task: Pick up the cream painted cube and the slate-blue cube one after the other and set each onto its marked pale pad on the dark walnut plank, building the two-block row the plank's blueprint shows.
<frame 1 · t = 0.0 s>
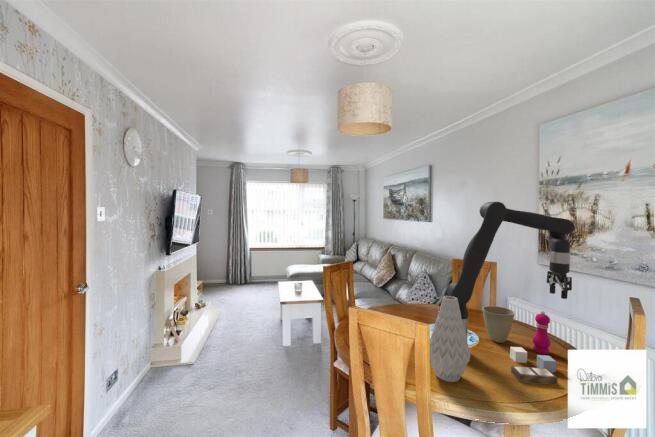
hand: (558, 295, 144), 29 cm above the table, fingers open, 8 cm apart
plant pot: (497, 340, 164), on the table
cube cream: (518, 360, 142), on the table
cube blue: (545, 369, 134), on the table
pepper mill: (541, 351, 151), on the table
vase: (447, 376, 127), on the table
plank: (533, 378, 126), on the table
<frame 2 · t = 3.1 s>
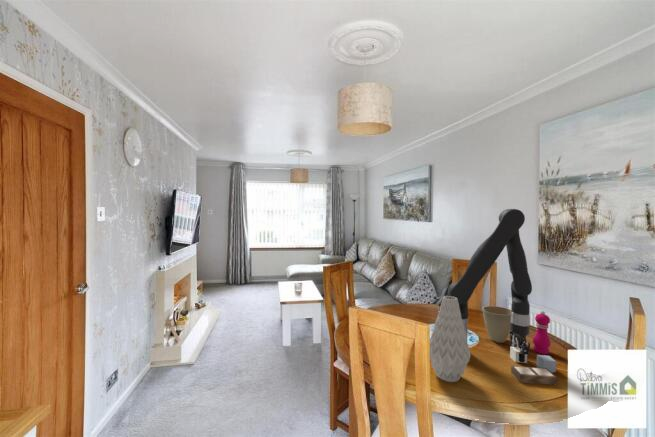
hand: (518, 358, 142), 1 cm above the table, fingers closed on cube cream, 5 cm apart
cube cream: (518, 359, 142), on the table, touching gripper
everything else where it was.
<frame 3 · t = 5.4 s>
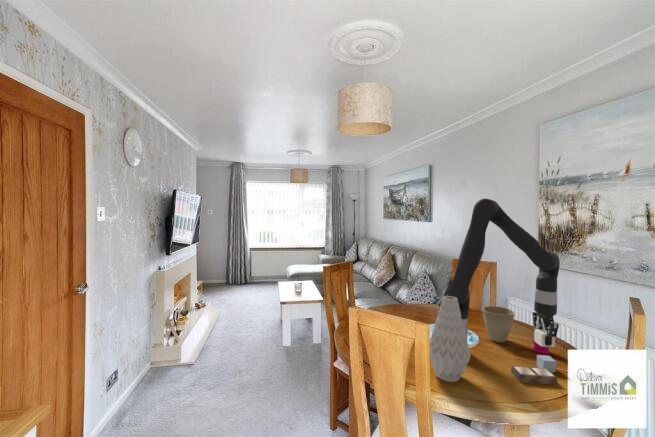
hand: (544, 342, 125), 15 cm above the table, fingers closed on cube cream, 5 cm apart
cube cream: (544, 343, 125), point 15 cm above the table, touching gripper
everything else where it was.
when the fingers open (5 cm above the table, at t = 7.7 s): cube cream drops 1 cm, resting on plank.
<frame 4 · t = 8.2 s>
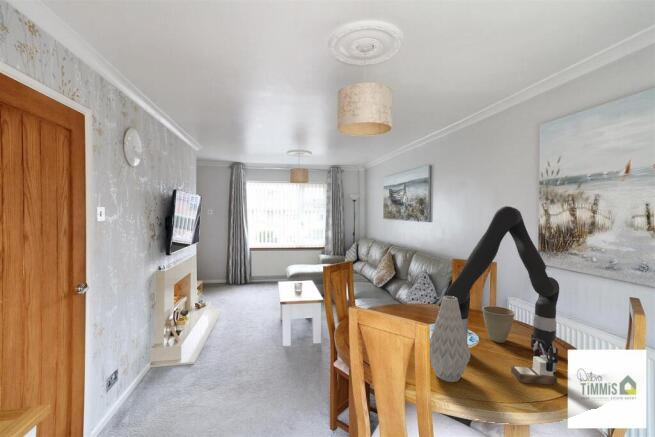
hand: (542, 365, 126), 6 cm above the table, fingers open, 8 cm apart
cube cream: (542, 371, 126), point 3 cm above the table, touching plank
everything else where it was.
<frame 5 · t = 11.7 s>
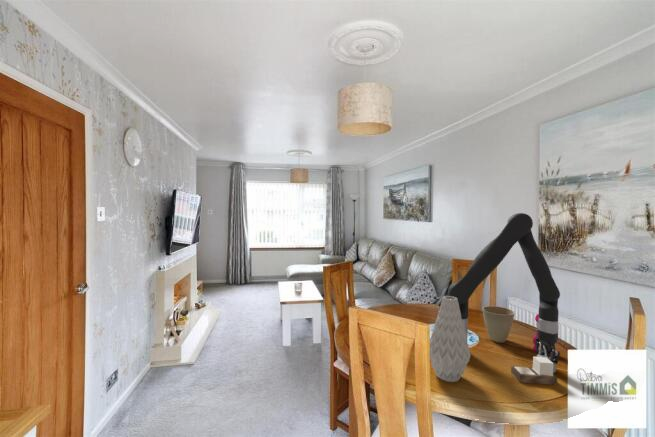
hand: (545, 367, 134), 1 cm above the table, fingers closed on cube blue, 5 cm apart
cube blue: (545, 369, 134), on the table, touching gripper
everything else where it was.
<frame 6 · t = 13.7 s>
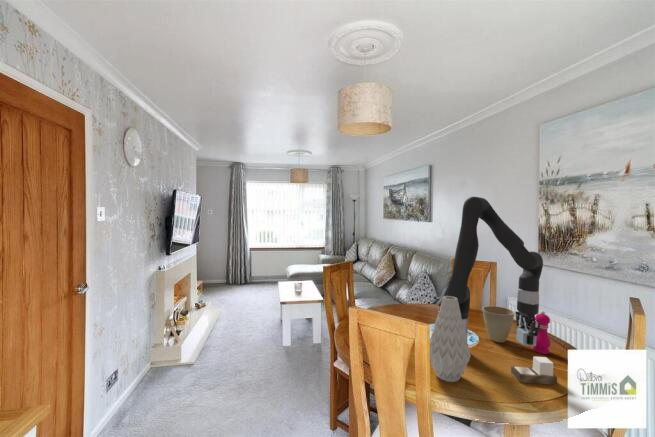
hand: (525, 341, 126), 15 cm above the table, fingers closed on cube blue, 5 cm apart
cube blue: (525, 342, 126), point 15 cm above the table, touching gripper
everything else where it was.
when the fingers open (5 cm above the table, at t = 16.1 s): cube blue drops 1 cm, resting on plank.
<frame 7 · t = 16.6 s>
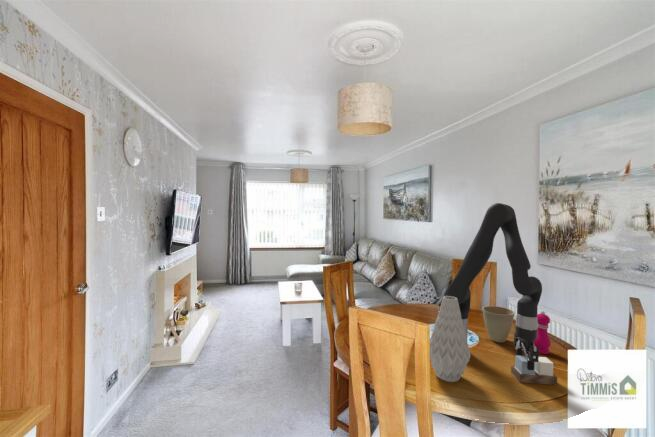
hand: (524, 364, 126), 6 cm above the table, fingers open, 8 cm apart
cube blue: (524, 370, 126), point 3 cm above the table, touching plank
everything else where it was.
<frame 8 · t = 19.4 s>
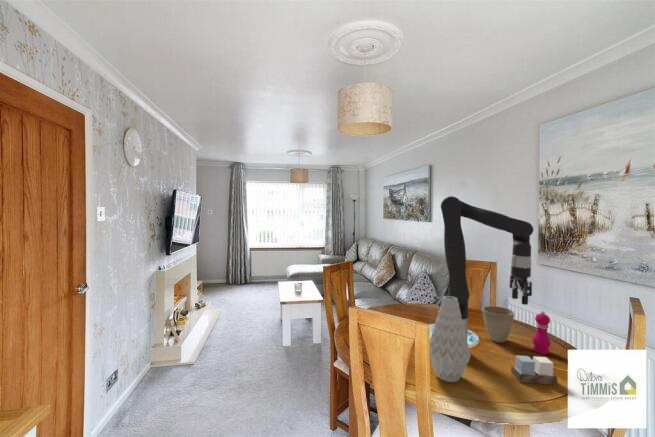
hand: (519, 301, 138), 28 cm above the table, fingers open, 8 cm apart
nothing on the table moved.
at the end: cube cream 0.1 cm from the target spot on the plank, point 3.1 cm above the plank's base; cube blue 0.0 cm from the target spot on the plank, point 3.1 cm above the plank's base; the gripper is holding nothing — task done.
